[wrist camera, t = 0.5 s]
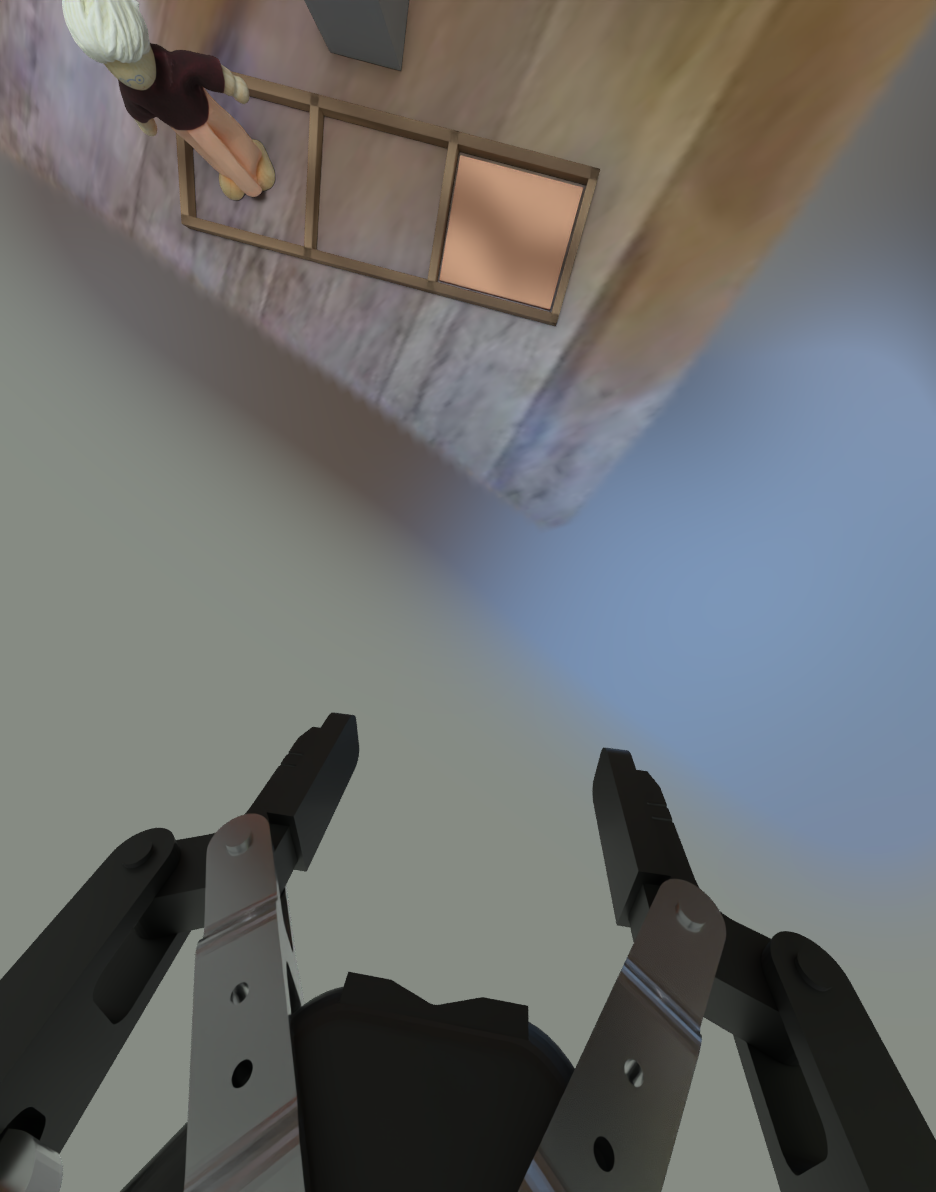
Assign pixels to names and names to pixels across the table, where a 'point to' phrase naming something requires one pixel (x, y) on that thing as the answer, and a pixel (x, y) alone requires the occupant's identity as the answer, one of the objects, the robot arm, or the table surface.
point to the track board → (446, 211)
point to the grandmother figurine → (172, 91)
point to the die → (363, 28)
